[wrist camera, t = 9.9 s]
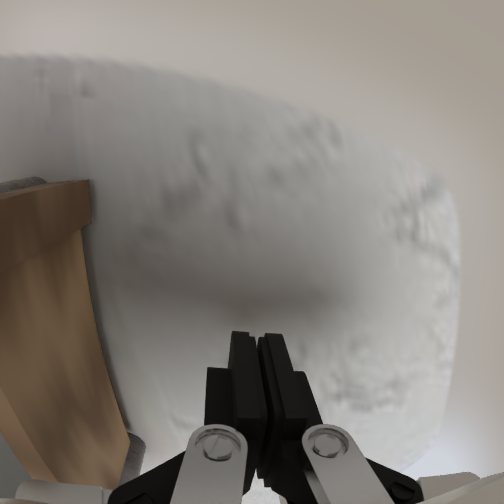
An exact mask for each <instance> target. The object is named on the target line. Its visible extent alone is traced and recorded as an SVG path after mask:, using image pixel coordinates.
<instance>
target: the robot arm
mask: <svg viewBox="0 0 504 504" xmlns="http://www.w3.org/2000/svg"><path fill="white" fill-rule="evenodd" d="M255 470H256V471H257V477H258V479H264V487H271V489H272V490H273V491H274V492H276V493H277V494H279V499H280V503H281V504H504V472H503V473H498V474H494V475H491V476H487V477H485V478H481V479H480V478H479V477H478V476H477V475H475V474H473V473H471V472H463V473H456V474H448V475H440V476H432V477H421V478H419V479H418V480H417V481H415V480H414V479H412V478H410V477H408V476H406V475H403V474H401V473H399V472H397V471H394V470H392V469H390V468H387V467H385V466H383V465H381V464H378V463H376V462H374V461H372V460H370V459H368V458H365V457H364V455H363V454H362V452H361V451H360V449H359V448H358V446H357V444H356V443H355V441H354V440H353V438H352V437H351V436H350V434H349V433H348V432H347V431H345V430H344V429H342V428H340V427H337V426H335V425H329V424H323V422H322V419H321V416H320V414H319V411H318V408H317V405H316V402H315V399H314V397H313V394H312V391H311V388H310V385H309V382H308V380H307V377H306V374H305V372H303V371H294V370H293V367H292V364H291V360H290V357H289V354H288V351H287V348H286V344H285V341H284V338H283V335H282V334H272V333H266V334H265V336H264V337H259V339H258V345H257V347H256V341H255V337H251V336H249V332H239V331H232V335H231V343H230V352H229V362H228V369H227V368H213V367H207V381H206V399H205V418H204V426H203V427H200V428H198V429H197V430H196V431H195V432H193V433H192V435H191V437H190V439H189V442H188V445H187V448H186V451H184V452H182V453H180V454H179V455H177V456H175V457H174V458H172V459H170V460H168V461H166V462H165V463H163V464H161V465H159V466H157V467H156V468H154V469H152V470H150V471H148V472H146V473H144V474H142V475H140V476H138V477H136V478H134V479H132V480H130V481H128V482H126V483H124V484H122V485H120V486H119V487H117V488H116V489H114V490H107V489H102V487H101V486H88V485H76V484H67V483H58V482H51V481H44V480H38V479H30V480H27V481H25V482H23V483H22V484H21V485H20V486H19V487H18V488H17V491H16V495H15V499H10V498H0V504H241V502H242V496H243V495H244V494H246V493H247V492H248V491H249V490H250V487H251V483H252V480H253V477H254V473H255Z"/></svg>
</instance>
